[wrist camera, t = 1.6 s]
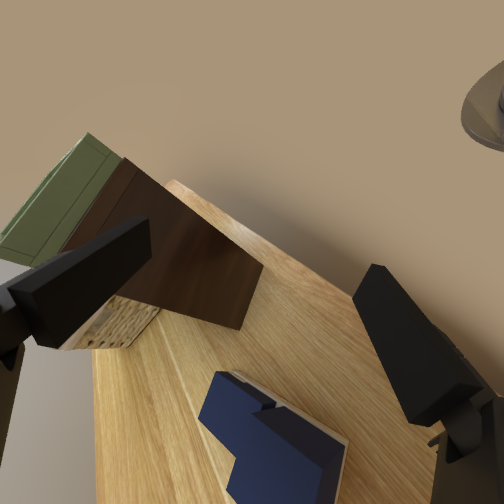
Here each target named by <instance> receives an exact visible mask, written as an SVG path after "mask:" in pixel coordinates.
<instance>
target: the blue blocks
mask: <svg viewBox="0 0 504 504" xmlns="http://www.w3.org/2000/svg"><path fill="white" fill-rule="evenodd" d="M198 419H199V420H200V422H201V423H202V424H203V425H204V426H205V427H206V428H207V429H208V430H209V431H210V432H211V433H212V434H213V435H214V436H215V437H216V438H217V439H218V440H219V441H220V442H221V443H222V444H223V445H224V446H225V447H226V448H227V449H228V450H229V451H230V452H231V453H232V454H233V455H234V456H235V457H236V460H235V463H234V466H233V470H232V473H231V476H230V479H229V482H228V485H227V488H226V491H227V492H228V493H229V494H230V496H231V497H232V498H233V499H234V500H235V502H236V503H237V504H337V501H338V496H339V491H340V486H341V480H342V475H343V470H344V465H345V459H346V454H347V449H348V444H349V440H347V439H346V438H344V437H343V436H341V435H340V434H338V433H336V432H335V431H333V430H332V429H330V428H329V427H327V426H325V425H324V424H322V423H321V422H319V421H318V420H316V419H314V418H313V417H311V416H310V415H308V414H307V413H305V412H303V411H302V410H300V409H299V408H297V407H296V406H294V405H292V404H291V403H289V402H288V401H286V400H285V399H283V398H281V397H280V396H278V395H277V394H275V393H274V392H272V391H270V390H269V389H267V388H266V387H264V386H263V385H261V384H259V383H258V382H256V381H255V380H253V379H252V378H250V377H248V376H247V375H245V374H244V373H242V372H241V371H239V370H232V372H223V371H216V372H215V375H214V377H213V380H212V383H211V385H210V388H209V390H208V393H207V396H206V398H205V401H204V404H203V406H202V409H201V412H200V414H199V417H198Z"/></svg>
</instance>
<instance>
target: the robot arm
mask: <svg viewBox="0 0 504 504" xmlns="http://www.w3.org/2000/svg"><path fill="white" fill-rule="evenodd" d="M499 102H500V106H501V108H502V109H503V111H504V85H503V88H502V91H501V94H500V98H499ZM151 258H152V250H151V238H150V225H149V217H145V216H140V215H135V216H133V217H131V218H129V219H127V220H126V221H124V222H122V223H120V224H119V225H117V226H115V227H113V228H112V229H110V230H108V231H106V232H105V233H103V234H101V235H99V236H97V237H96V238H94V239H92V240H90V241H89V242H87V243H85V244H83V245H82V246H80V247H78V248H76V249H74V250H70V251H67V252H64V253H60V254H57V255H55V256H53V257H52V258H50V259H48V260H46V261H44V263H40V264H39V265H37V266H35V267H34V269H32V268H31V269H30V270H28V271H26V272H24V273H22V274H20V275H18V276H17V277H15V278H13V279H11V280H9V281H7V282H6V283H4V284H2V285H0V466H1V461H2V456H3V451H4V447H5V442H6V437H7V433H8V428H9V423H10V419H11V414H12V409H13V404H14V399H15V395H16V390H17V385H18V381H19V375H20V371H21V366H22V362H23V357H24V352H25V345H24V343H23V341H25V340H26V339H27V338H28V337H29V336H31V335H32V336H33V337H34V339H35V341H36V343H37V345H40V346H45V347H49V348H54V349H59V348H60V347H61V346H62V345H63V344H64V343H65V342H66V341H67V340H68V339H69V338H70V337H71V336H72V335H73V334H74V333H75V332H76V331H77V330H78V329H79V328H80V327H81V326H82V325H83V324H84V323H85V322H86V321H87V320H88V319H89V318H90V317H92V316H93V315H94V314H95V313H96V312H97V311H98V310H99V309H100V308H101V307H102V306H103V305H104V304H105V303H106V302H107V301H108V300H109V299H110V298H111V297H112V296H113V295H114V294H115V293H116V292H117V291H118V290H119V289H120V288H121V287H122V286H123V285H124V284H125V283H126V282H127V281H128V280H129V279H130V278H131V277H132V276H133V275H134V274H135V273H136V272H138V271H139V270H140V269H141V268H142V267H143V266H144V265H145V264H146V263H147V262H148V261H149V260H150V259H151ZM352 300H353V302H354V304H355V307H356V309H357V311H358V313H359V315H360V318H361V320H362V322H363V324H364V326H365V329H366V331H367V333H368V335H369V337H370V339H371V342H372V344H373V346H374V348H375V350H376V353H377V355H378V357H379V359H380V361H381V364H382V366H383V368H384V370H385V372H386V375H387V377H388V379H389V381H390V383H391V386H392V388H393V390H394V392H395V394H396V397H397V399H398V401H399V403H400V405H401V408H402V410H403V412H404V414H405V416H406V418H407V421H408V423H411V424H415V425H420V426H425V427H431V426H432V425H433V424H435V423H436V422H438V421H439V420H441V422H442V424H443V425H444V427H445V429H446V430H445V431H443V432H442V433H440V434H439V435H437V436H436V437H434V438H433V439H431V440H430V441H429V442H428V444H427V445H428V446H429V447H430V448H431V447H433V446H434V445H436V444H439V447H438V451H436V453H437V461H436V468H435V475H434V482H433V489H432V496H431V503H430V504H504V398H502V397H498V396H497V394H496V393H495V392H494V391H493V390H492V389H491V387H490V386H489V385H488V384H487V383H486V381H485V380H484V379H483V378H482V377H481V376H480V375H479V373H478V372H477V371H476V370H475V369H474V367H473V366H472V365H471V364H470V363H469V361H468V360H467V359H466V358H464V355H463V354H462V353H461V352H460V351H459V349H457V348H456V346H455V345H454V344H453V342H452V341H451V340H450V339H449V338H448V336H447V335H446V334H444V333H443V332H442V331H441V330H440V329H438V328H437V327H436V326H435V325H433V324H432V323H431V322H430V321H429V320H428V318H427V317H426V316H425V315H424V313H422V311H421V310H420V309H419V308H418V306H417V305H416V304H415V302H414V301H413V300H412V299H411V298H410V296H409V295H408V294H407V293H406V291H405V290H404V289H403V288H402V287H401V285H400V284H399V283H398V282H397V280H396V279H395V278H394V277H393V276H392V275H391V273H390V272H389V271H388V269H387V268H386V267H385V266H381V265H376V264H371V266H370V268H369V269H368V271H367V273H366V275H365V277H364V278H363V280H362V282H361V284H360V285H359V287H358V289H357V291H356V293H355V294H354V296H353V298H352Z"/></svg>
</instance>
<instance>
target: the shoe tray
mask: <svg viewBox="0 0 504 504" xmlns="http://www.w3.org/2000/svg"><path fill="white" fill-rule="evenodd" d="M121 161H122V158H121V157H119V156H118V155H117V154H116V153H114V152H113V151H111V150H110V149H109V148H108V147H107V146H105V145H104V144H103V143H101V142H100V141H99V140H97V139H96V138H95V137H94V136H92V135H91V134H90V133H86V134H85V135H84V136H83V137H82V138H81V139H80V140H79V141H78V142H77V143H76V145H75V146H74V147H73V148H72V149H71V150H70V151H69V152H68V153H67V154H66V155H65V156H64V157H63V158H62V159H61V160H60V161H59V162H58V163H57V164H56V166H54V167H53V168H52V170H51V171H50V172H49V173H48V174H47V176H46V177H45V178H44V179H43V181H42V182H41V183H40V184H39V186H38V187H37V188H36V189H35V191H34V192H33V193H32V194H31V196H30V197H29V198H28V199H27V201H26V202H25V203H24V205H23V206H22V207H21V208H20V209H19V211H18V212H17V213H16V214H15V216H14V217H13V218H12V219H11V221H10V222H9V223H8V225H7V226H6V227H5V228H4V230H3V231H2V232H1V233H0V259H4V260H7V261H11V262H14V263H17V264H21V265H24V266H29V267H31V268H34V267H35V266H37V265H39V264H40V263H44V261H46V260H48V259H50V258H52V257H53V256H55V255H57V254H58V253H59V251H60V250H61V248H62V247H63V245H64V244H65V242H66V241H67V239H68V238H69V236H70V235H71V234H72V232H73V231H74V229H75V228H76V226H77V225H78V223H79V222H80V220H81V219H82V218H83V216H84V215H85V213H86V212H87V210H88V209H89V207H90V206H91V204H92V203H93V201H94V200H95V199H96V197H97V196H98V194H99V193H100V191H101V190H102V188H103V187H104V185H105V184H106V183H107V181H108V180H109V178H110V177H111V175H112V174H113V172H114V171H115V169H116V168H117V166H118V165H119V164H120V162H121Z"/></svg>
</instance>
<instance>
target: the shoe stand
mask: <svg viewBox="0 0 504 504" xmlns="http://www.w3.org/2000/svg"><path fill="white" fill-rule="evenodd" d="M135 215H140V216H145V217H149V225H150V238H151V250H152V258H151V259H150V260H149V261H148V262H147V263H146V264H145V265H144V266H143V267H142V268H141V269H140V270H139V271H138V272H136V273H135V274H134V275H133V276H132V277H131V278H130V279H129V280H128V281H127V282H126V283H125V284H124V285H123V286H122V287H121V288H120V289H119V290H118V291H117V292H116V293H115V294H114V295H117V296H120V297H124V298H127V299H131V300H134V301H138V302H141V303H145V304H148V305H152V306H155V307H159V308H162V309H166V310H169V311H173V312H176V313H180V314H183V315H186V316H190V317H193V318H197V319H200V320H204V321H207V322H211V323H214V324H218V325H221V326H225V327H228V328H232V329H235V330H239V331H240V328H241V326H242V323H243V320H244V317H245V315H246V312H247V309H248V306H249V304H250V301H251V298H252V296H253V293H254V290H255V287H256V285H257V282H258V279H259V277H260V274H261V271H262V268H263V265H262V264H261V263H260V262H258V261H257V260H256V259H255V258H253V257H252V256H251V255H249V254H248V253H247V252H246V251H244V250H243V249H242V248H241V247H239V246H238V245H237V244H235V243H234V242H233V241H232V240H230V239H229V238H228V237H226V236H225V235H224V234H223V233H221V232H220V231H219V230H217V229H216V228H215V227H214V226H212V225H211V224H210V223H209V222H207V221H206V220H205V219H203V218H202V217H201V216H200V215H198V214H197V213H196V212H194V211H193V210H192V209H191V208H189V207H188V206H187V205H185V204H184V203H183V202H182V201H180V200H179V199H178V198H177V197H175V196H174V195H173V194H171V193H170V192H169V191H168V190H166V189H165V188H164V187H162V186H161V185H160V184H159V183H157V182H156V181H155V180H153V179H152V178H151V177H150V176H148V175H147V174H146V173H145V172H143V171H142V170H140V169H139V168H138V167H137V166H136V165H134V164H133V163H132V162H131V161H129V160H128V159H127V158H125V157H124V158H122V161H121V162H120V164H119V165H118V166H117V168H116V169H115V171H114V172H113V174H112V175H111V177H110V178H109V180H108V181H107V183H106V184H105V185H104V187H103V188H102V190H101V191H100V193H99V194H98V196H97V197H96V199H95V200H94V201H93V203H92V204H91V206H90V207H89V209H88V210H87V212H86V213H85V215H84V216H83V218H82V219H81V220H80V222H79V223H78V225H77V226H76V228H75V229H74V231H73V232H72V234H71V235H70V236H69V238H68V239H67V241H66V242H65V244H64V245H63V247H62V248H61V250H60V251H59V253H58V254H60V253H64V252H67V251H70V250H74V249H76V248H78V247H80V246H82V245H83V244H85V243H87V242H89V241H90V240H92V239H94V238H96V237H97V236H99V235H101V234H103V233H105V232H106V231H108V230H110V229H112V228H113V227H115V226H117V225H119V224H120V223H122V222H124V221H126V220H127V219H129V218H131V217H133V216H135Z"/></svg>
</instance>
